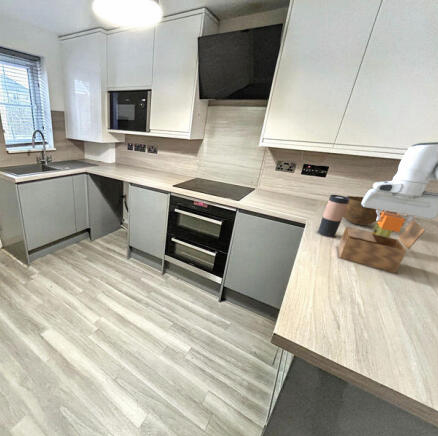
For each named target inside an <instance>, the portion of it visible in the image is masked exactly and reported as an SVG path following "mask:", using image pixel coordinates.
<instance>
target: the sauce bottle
mask: <svg viewBox="0 0 438 436" xmlns="http://www.w3.org/2000/svg"><path fill="white" fill-rule="evenodd" d="M385 212H389V211H385ZM389 213H394V212H389ZM394 214H398V213H394ZM377 222H378V221H376V222H375V225H374V227H373V229H372V231H371V232H372V234H375V235H380V236H384V237H389V238H391V235H392V233H393V231H390V230H386V229H381V228H380V226H379V224H378V223H377Z"/></svg>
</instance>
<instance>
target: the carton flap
mask: <svg viewBox="0 0 438 436" xmlns="http://www.w3.org/2000/svg"><path fill="white" fill-rule="evenodd" d="M425 232H426V229H425V228H423V227H422V226H421V225H420V224H419V223H418V222H417V221H415V220H414V219H412V220H411V221H410V223H409V224H408V225H407V227H406V228H405V229H404V230H403V232H401V234H400V235H399V237H398V240H399V241H400V243H401V244H402V245H403V247H404V248H405V249H406V251H407V250H408V251H409V250H411V248H412V247H413V245H415V243H416V242H417V241H418V240H419V239H420V238H421V236H422V235H423V234H424V233H425Z"/></svg>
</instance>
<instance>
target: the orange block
mask: <svg viewBox="0 0 438 436" xmlns="http://www.w3.org/2000/svg"><path fill="white" fill-rule="evenodd" d="M381 217H383V220H382V222H380V221H378V222H377V221H376V223H378V224H379V226H380V228H381V229H386V230H390V231H392V232H396V233H400V231H401V229H402V227H403V226H402V225H403V223H404V221H405V219H406V218H404V217H403V216H402V214H399V213H397V214H394V213H389V212H386V211H383V212H382V214H381Z"/></svg>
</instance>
